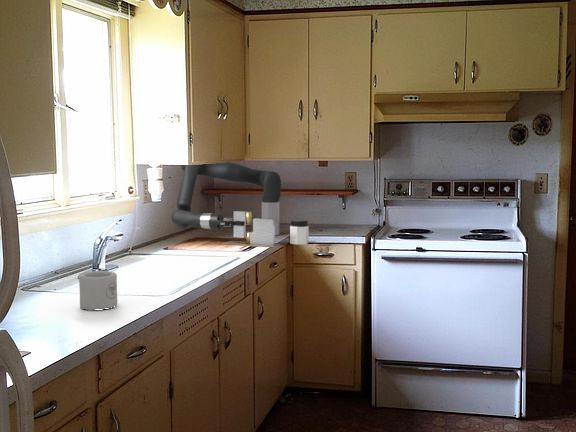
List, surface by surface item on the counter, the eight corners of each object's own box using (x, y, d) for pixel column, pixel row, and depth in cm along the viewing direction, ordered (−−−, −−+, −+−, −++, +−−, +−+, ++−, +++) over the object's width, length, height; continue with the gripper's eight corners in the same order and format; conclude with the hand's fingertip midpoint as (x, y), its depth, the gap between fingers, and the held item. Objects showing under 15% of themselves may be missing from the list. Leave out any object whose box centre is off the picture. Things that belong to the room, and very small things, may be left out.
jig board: (230, 243, 332) (230, 240, 332) (281, 246, 323) (281, 243, 323) (220, 246, 320) (220, 244, 320) (272, 250, 312) (272, 247, 312)
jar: (286, 245, 326) (286, 220, 325) (298, 243, 331) (298, 218, 330) (299, 247, 319) (299, 221, 318) (312, 245, 325) (312, 220, 324)
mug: (102, 312, 198) (101, 278, 197) (72, 309, 202) (71, 275, 201) (129, 302, 211) (129, 270, 210) (100, 299, 215) (99, 267, 214)
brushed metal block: (233, 237, 323) (233, 211, 321) (235, 236, 325) (235, 211, 324) (250, 238, 320) (250, 212, 319) (252, 237, 322) (252, 211, 321)
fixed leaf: (247, 243, 324) (247, 217, 322) (275, 244, 319) (275, 219, 318) (245, 244, 321) (245, 218, 320) (273, 245, 317) (273, 219, 315)
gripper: (205, 214, 320) (239, 216, 314) (218, 212, 333) (251, 213, 328) (205, 230, 321) (239, 233, 315) (218, 227, 334) (251, 229, 328)
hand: (245, 223), depth 321 cm, fingers closed on brushed metal block, 2 cm apart
